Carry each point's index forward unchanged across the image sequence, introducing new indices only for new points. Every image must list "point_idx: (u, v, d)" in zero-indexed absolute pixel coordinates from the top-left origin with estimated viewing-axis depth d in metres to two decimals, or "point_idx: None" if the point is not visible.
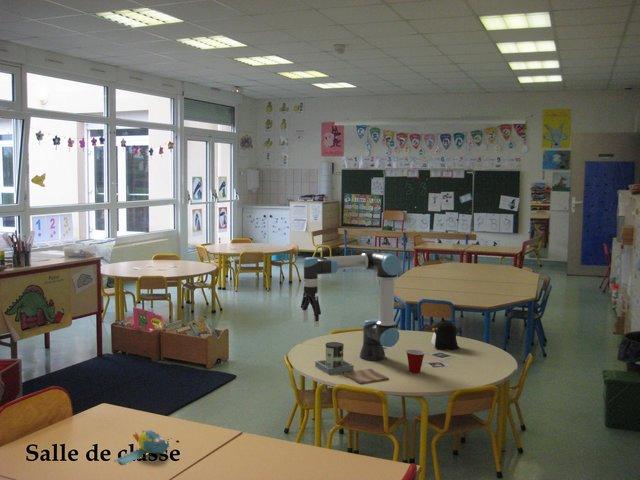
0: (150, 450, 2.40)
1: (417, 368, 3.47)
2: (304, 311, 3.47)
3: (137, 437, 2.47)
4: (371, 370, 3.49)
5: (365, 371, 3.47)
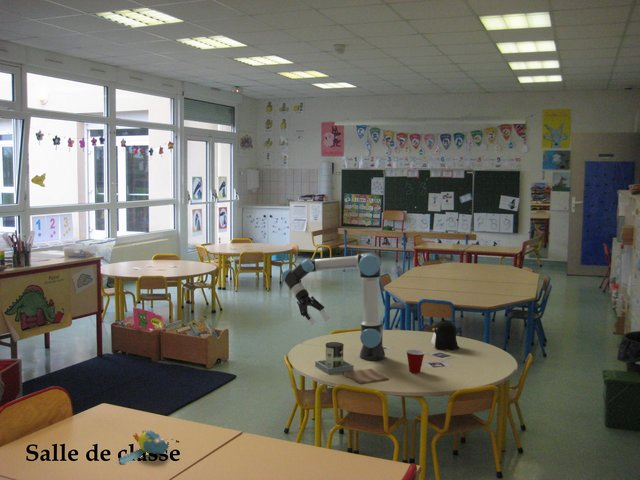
0: (150, 450, 2.40)
1: (417, 368, 3.47)
2: (320, 312, 3.66)
3: (137, 437, 2.47)
4: (371, 370, 3.49)
5: (365, 371, 3.47)
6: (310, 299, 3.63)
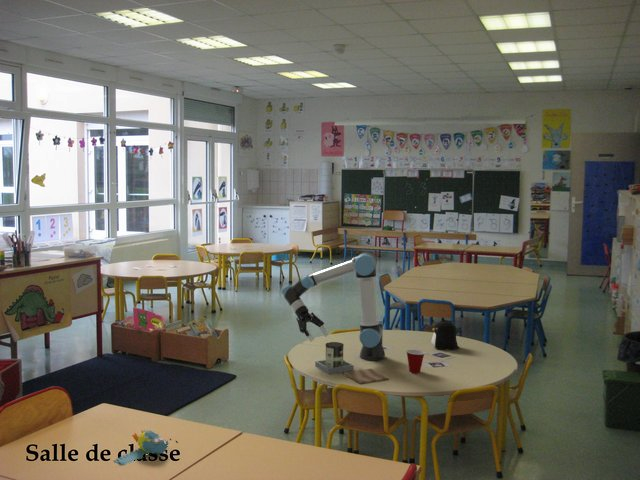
0: (149, 450, 2.40)
1: (417, 368, 3.47)
2: (320, 328, 3.67)
3: (136, 437, 2.47)
4: (371, 370, 3.49)
5: (365, 371, 3.47)
6: (310, 315, 3.65)
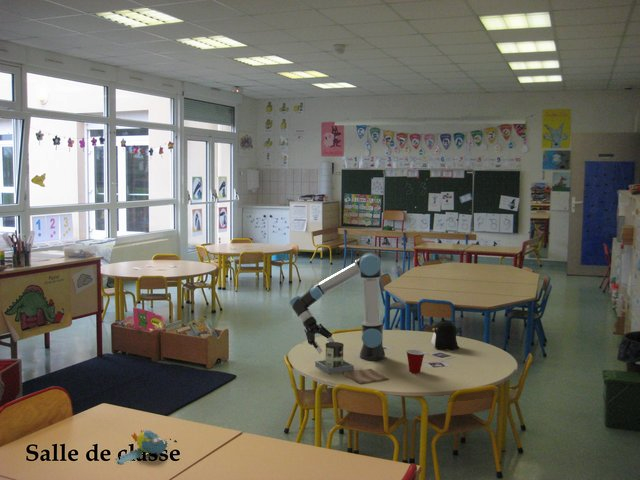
0: (148, 450, 2.41)
1: (417, 368, 3.47)
2: (328, 339, 3.63)
3: (135, 437, 2.47)
4: (371, 370, 3.49)
5: (365, 371, 3.47)
6: (318, 327, 3.62)
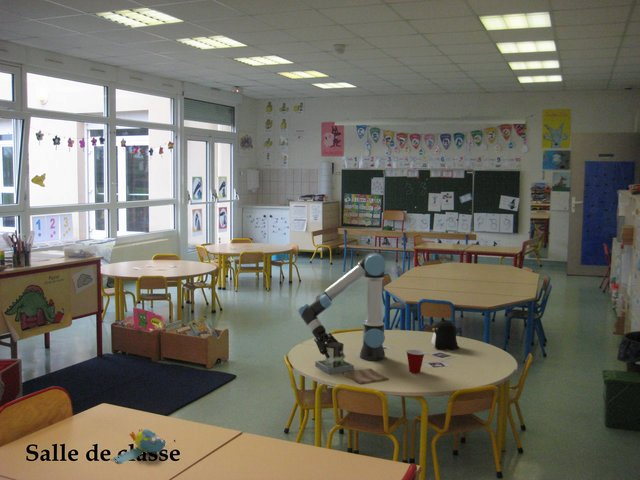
0: (146, 449, 2.41)
1: (417, 368, 3.47)
2: None
3: (134, 436, 2.48)
4: (371, 370, 3.49)
5: (365, 371, 3.47)
6: (327, 335, 3.59)
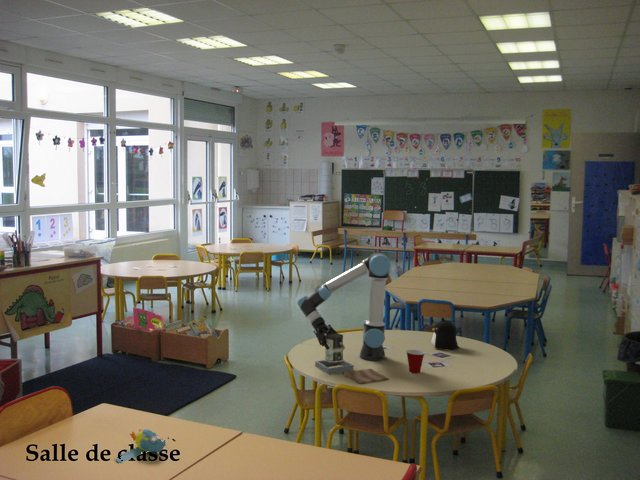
0: (147, 449, 2.42)
1: (417, 368, 3.47)
2: None
3: (134, 436, 2.48)
4: (371, 370, 3.49)
5: (365, 371, 3.47)
6: (326, 327, 3.58)
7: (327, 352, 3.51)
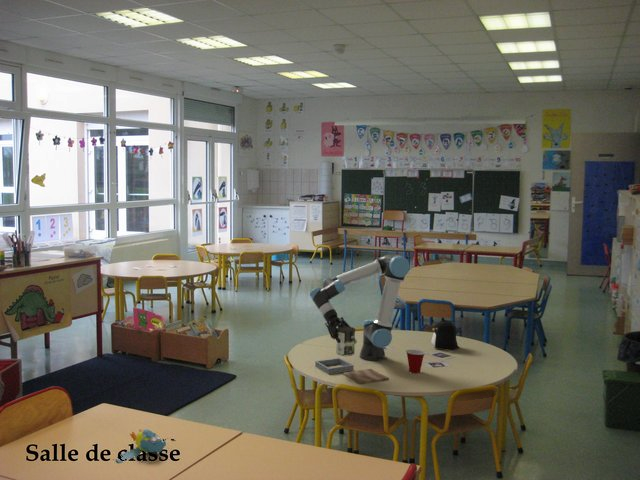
0: (147, 449, 2.42)
1: (417, 368, 3.47)
2: None
3: (134, 436, 2.48)
4: (371, 370, 3.49)
5: (365, 371, 3.47)
6: (339, 320, 3.49)
7: (338, 345, 3.42)
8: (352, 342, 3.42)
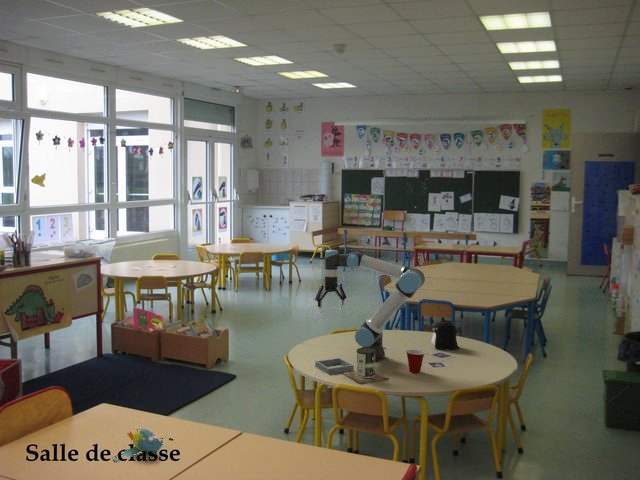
0: (144, 448, 2.42)
1: (417, 368, 3.47)
2: (339, 300, 3.74)
3: (131, 435, 2.48)
4: None
5: None
6: (335, 288, 3.69)
7: (359, 367, 3.37)
8: (373, 363, 3.36)
